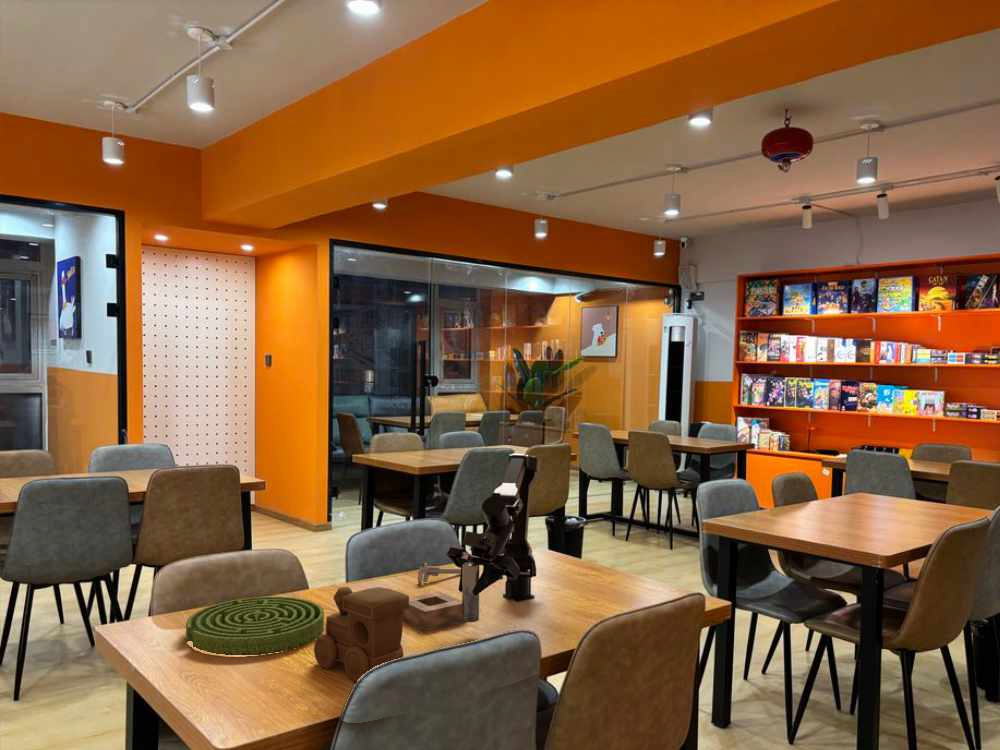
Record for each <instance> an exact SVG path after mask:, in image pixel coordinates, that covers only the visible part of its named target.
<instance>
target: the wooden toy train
mask: <svg viewBox="0 0 1000 750" xmlns="http://www.w3.org/2000/svg"><path fill="white" fill-rule="evenodd" d="M409 598H410V596H409V595H408V594H405V593H403V592H401V591H397V590H394V589H391V588H387V587H380V586H377V587H371V588H366V589H362V590H358V591H354V592H353V590H352V589H351V587H349V586H342V587H341V586H340V587H338V589H337V590H336V592H335V594H334V595H333V600H334V604H335V605H336V607H337V610H338V612H335V613H331V614H330V615H328V616H326V621H325V634H324V633H322V634H321V635H320V636H319V637H318V638H317V639H316V640H315V641H314V645H313V655H314V657H315V660H316V662H317V664H318V665H320V667H322V668H324V669H328V670H330V669H332V668H333V667H334V666H335V665H336V663H337V662H338V661H339V662H341V663H344V664H343V665H344V669H345V671H346V675H347V676H348V677H349V678H350V679H351V680H352V681H354V682H356V681H357V680H358V679H359V678H360V677H361V676H362V675H363V674H365V673H366V672H367V671H369V670H370V669H372V668H373V667H375V666H377V665H380V664H382V663H385V662H388V661H391V660H394V659H398V658H402V657H403V658H404V649H403V646H402V636H403V627H404V622H403V610H406V609H409Z"/></svg>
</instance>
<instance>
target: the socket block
mask: <svg viewBox="0 0 1000 750" xmlns="http://www.w3.org/2000/svg"><path fill="white" fill-rule="evenodd" d="M403 623H405V624H407V625H410V626H411V627H413V628H415V629H417V630H419V631H421V632H423V633H426V632H429V631H434V630H437V629H441V628H446V627H447V628H448V627H451V626H454V625H458V624H463V623H465V622H464V621H463V620H462V599H461V600H460V599H458V598H455V597H452V596H450V595H448V594H446V593H443V592H441V591H435V592H429V593H424V594H420V595H415V596H409V609H406V610H403Z"/></svg>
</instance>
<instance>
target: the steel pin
mask: <svg viewBox="0 0 1000 750" xmlns="http://www.w3.org/2000/svg"><path fill="white" fill-rule="evenodd" d="M479 578H480V565H479V564H478V563H474V562H468V563H464V564H462V592H461V601H462V620H463V621H464V622H463V623H476V622H478V621H480V593H479V594H478V595H476V596H475V595H474V594H473V591H474V589H475V586H476V584H477V582H478V580H479Z"/></svg>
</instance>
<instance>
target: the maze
mask: <svg viewBox="0 0 1000 750" xmlns="http://www.w3.org/2000/svg"><path fill="white" fill-rule="evenodd" d="M324 615H325V612H324V608H323V607H322V606H321V605H319V604H318V603H316V602H314V601H312V600H307V599H304V598H298V597H297V598H296V597H293V596H292V597H288V596H258V597H257V596H256V597H248V598H239V599H233V600H228V601H223V602H219V603H216V604H212V605H210V606H206V607H204V608H202V609H200V610H198V611H196V612H194V613H193V614H192V615H190V616H189V617H188V618H187V620H186V623H185V639H186V638H187V642H188V641H192V642H193V647H196V648H198V649H200V650H204V651H207V652H211V653H216V654H225V655H261V654H268V653H275V652H281V651H286V650H290V651H292V650H291V649H294V648H296V649H299V648H301V647H304V646H307V645H309V644H311V643H313V642H315V641H316V640H315V639H317V638H318V637H319V636H320V635H322V634H323V633H324V631H325V630H324V629H325V628H324V626H325V625H324V622H325V621H324V620H325V618H324ZM322 632H323V633H322ZM314 640H315V641H314ZM312 641H313V642H312ZM187 642H186V643H187ZM310 642H311V643H310ZM308 643H309V644H308ZM306 644H307V645H306ZM298 647H299V648H298ZM294 650H295V649H294ZM286 652H287V651H286Z"/></svg>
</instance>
